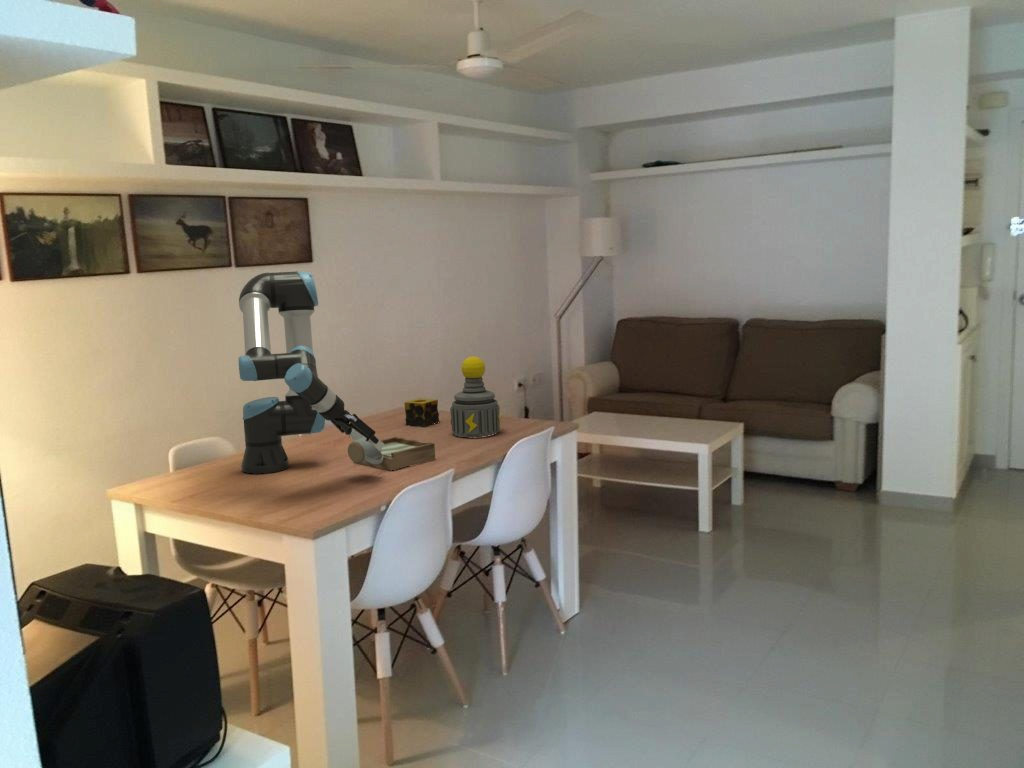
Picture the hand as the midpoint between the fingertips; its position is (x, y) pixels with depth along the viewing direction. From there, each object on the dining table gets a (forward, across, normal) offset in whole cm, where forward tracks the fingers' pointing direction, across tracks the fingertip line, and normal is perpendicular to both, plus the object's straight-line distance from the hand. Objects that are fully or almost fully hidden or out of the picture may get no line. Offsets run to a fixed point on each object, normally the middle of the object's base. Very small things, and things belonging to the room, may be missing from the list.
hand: (372, 445), depth 265 cm
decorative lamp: (+52, -17, +37) cm, 66 cm away
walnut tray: (+18, -9, +4) cm, 21 cm away
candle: (+53, -49, +37) cm, 82 cm away
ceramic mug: (+1, +2, -5) cm, 6 cm away
